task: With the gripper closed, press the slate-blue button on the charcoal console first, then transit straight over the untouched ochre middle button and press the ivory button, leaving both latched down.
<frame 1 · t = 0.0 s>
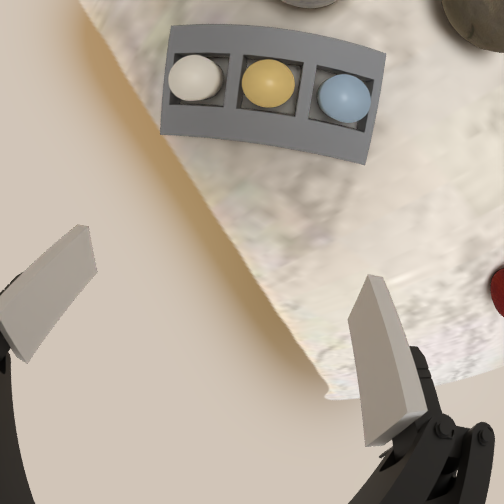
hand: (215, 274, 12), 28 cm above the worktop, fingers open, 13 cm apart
smooth brown stone: (458, 13, 19), on the worktop
button ochre: (269, 84, 27), point 5 cm above the worktop, slide at 0.0 cm
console: (271, 86, 31), on the worktop
button ivory: (196, 78, 27), point 5 cm above the worktop, slide at 0.0 cm
button blue: (342, 98, 27), point 5 cm above the worktop, slide at 0.0 cm
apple: (498, 276, 40), on the worktop
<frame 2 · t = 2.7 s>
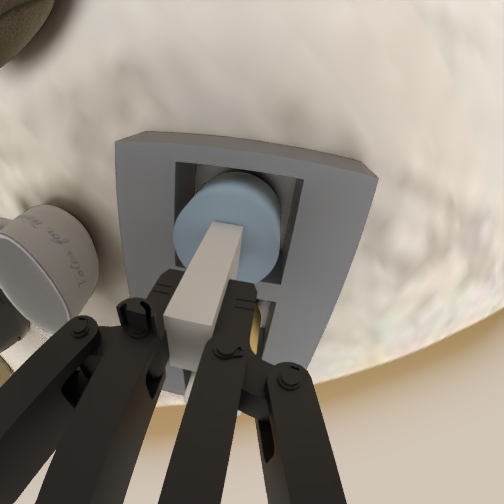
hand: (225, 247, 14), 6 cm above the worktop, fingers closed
smooth brown stone: (34, 15, 11), on the worktop
teacup: (61, 232, 23), on the worktop
button ochre: (220, 333, 20), point 5 cm above the worktop, slide at 0.0 cm
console: (231, 294, 24), on the worktop
button ivory: (216, 388, 24), point 5 cm above the worktop, slide at 0.0 cm
button blue: (231, 227, 16), point 4 cm above the worktop, slide at 0.5 cm, touching gripper
planter bowl: (1, 359, 51), on the worktop
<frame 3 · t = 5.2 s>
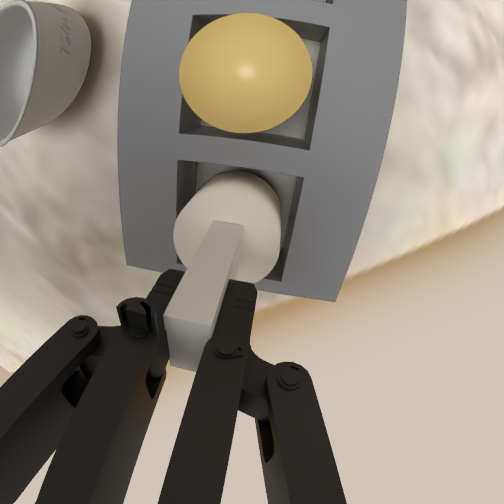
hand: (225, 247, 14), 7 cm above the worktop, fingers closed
teacup: (54, 59, 14), on the worktop
button ochre: (249, 74, 11), point 5 cm above the worktop, slide at 0.0 cm
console: (258, 80, 15), on the worktop
button ivory: (231, 227, 16), point 4 cm above the worktop, slide at 0.2 cm, touching gripper
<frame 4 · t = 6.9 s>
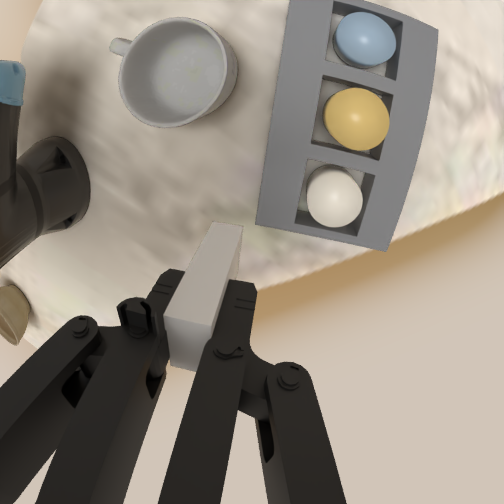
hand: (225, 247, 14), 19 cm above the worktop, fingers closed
teacup: (188, 69, 26), on the worktop
button ochre: (354, 118, 22), point 5 cm above the worktop, slide at 0.0 cm
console: (346, 116, 26), on the worktop
button ivory: (333, 195, 28), point 3 cm above the worktop, slide at 2.0 cm
button blue: (363, 41, 19), point 3 cm above the worktop, slide at 1.9 cm
planter bowl: (20, 298, 55), on the worktop
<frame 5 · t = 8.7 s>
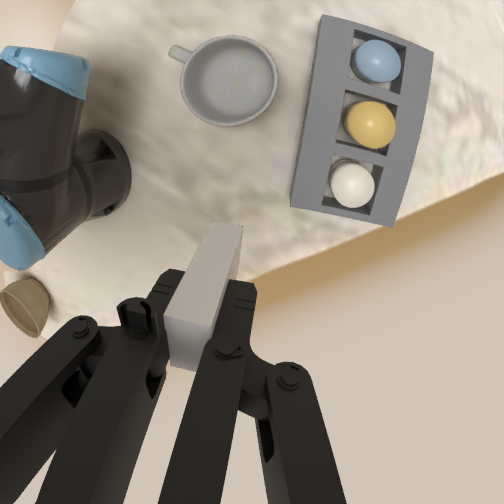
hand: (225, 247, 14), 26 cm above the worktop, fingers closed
teacup: (230, 76, 32), on the worktop
button ochre: (368, 123, 28), point 5 cm above the worktop, slide at 0.0 cm
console: (359, 120, 32), on the worktop
button ivory: (350, 182, 35), point 3 cm above the worktop, slide at 2.0 cm
button blue: (375, 62, 26), point 3 cm above the worktop, slide at 1.9 cm
planter bowl: (39, 291, 60), on the worktop
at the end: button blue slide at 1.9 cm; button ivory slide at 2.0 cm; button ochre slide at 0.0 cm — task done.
